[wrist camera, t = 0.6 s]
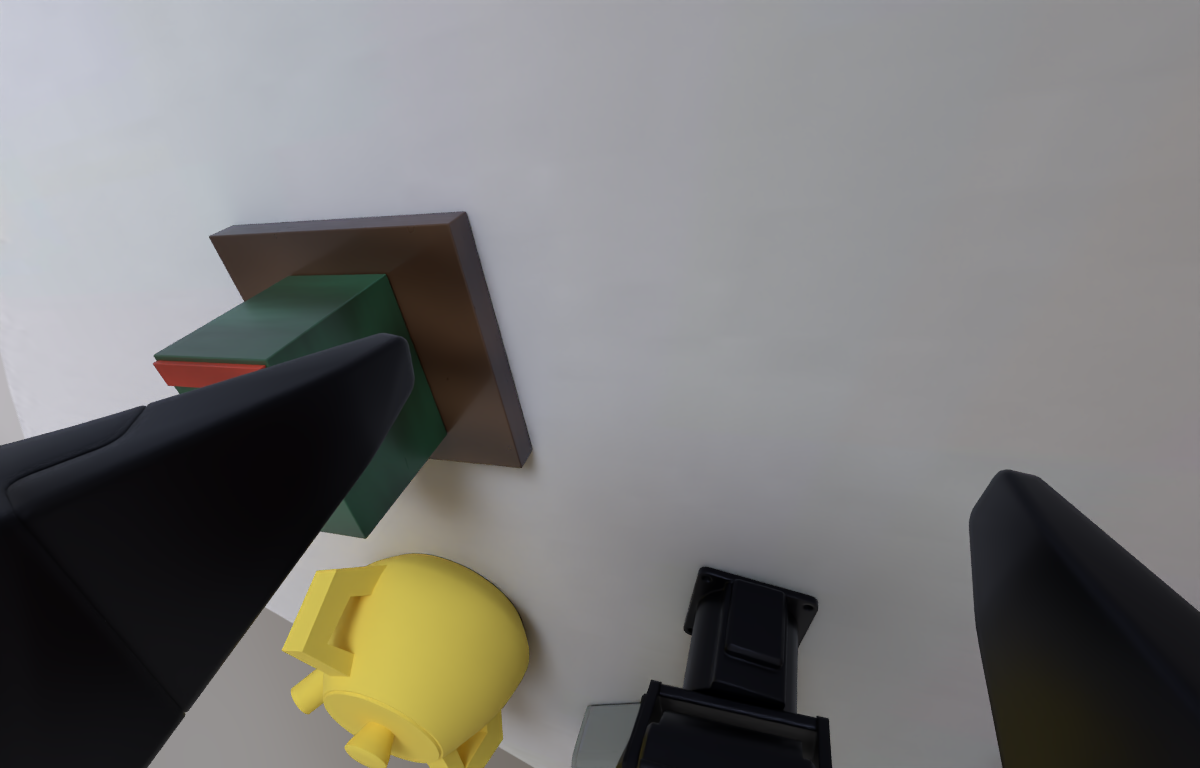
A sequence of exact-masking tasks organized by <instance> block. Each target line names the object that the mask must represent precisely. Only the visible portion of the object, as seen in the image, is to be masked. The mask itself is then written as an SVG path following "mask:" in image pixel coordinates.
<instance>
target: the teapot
mask: <svg viewBox="0 0 1200 768" xmlns="http://www.w3.org/2000/svg"><path fill="white" fill-rule="evenodd" d="M282 651H283V652H285V653H287V654H289V655H291V656H293V657H295V658H297V659H299V660H301V661H303V662H304V663H306V664H308V665H310V666H312V667H314V668H316V670H314V671H313V672H312V673H310V674H309V675H308V676H307V677H305V678H304V679H303V680H302V681H300V682H299V683H298V684H297V685H295V686H294V687H293V688H292V689H291V695H292V698H293V700H294V702H295V704H296V705H297V706H298V708H299V709H300V710H301V711H302V712H304V713H305V714H310V713H311V712H312V711H314V710H315V709H316V708H317V707H319V706H320V705H321V704H323V703H324V706H325V708H326V710H327V712H328V713H329V714H330V715H331V716H332V718H333V719H334V720H335V721H336V722H337V723H339V724H340V725H341V726H342V727H343V728H345V729H346V730H347V731H348V732H350V733H351V734H353V735H354V737H353V738H352V739H351V740H350V741H349V742H348V743H347V744H346V746H345V750H346V752H347V753H348V754H349V755H350V757H352V758H353V759H354V760H356V761H357V762H359V763H361V764H363V765H365V766H367V767H369V768H386V767H387V765H388V762H389V758H390V755H393V756H395V757H398V758H401V759H405V760H409V761H412V762H419V763H427V764H428V765H429V767H430V768H484V767H485V765H486V764H487V762H488V761H489V759H490V758H491V756H492V755H493V753H494V752H495V750H496V749H497V747H498V746H499V744H500V743H501V741H502V740H503V731H502V716H501V709H502V708H503V707H504V706H505V704H506V703H507V702H508V700H509V699H510V698H511V696H512V695H513V693H514V692H515V690H516V688H517V687H518V685H519V684H520V682H521V680H522V679H523V676H524V674H525V672H526V670H527V667H528V664H529V646H528V642H527V637H526V634H525V630H524V627H523V625H522V622H521V619H520V617H519V614H518V612H517V611H516V609H515V607H514V606H513V605H512V603H511V602H510V601H509V600H508V598H507V597H506V596H505V595H504V594H503V593H502V592H501V591H500V590H499V589H497V588H496V587H495V586H494V585H493V584H491V583H490V582H489V581H487V580H486V579H485V578H483V577H482V576H480V575H479V574H477V573H475V572H473V571H472V570H470V569H468V568H466V567H464V566H462V565H460V564H457V563H455V562H452V561H450V560H447V559H444V558H440V557H436V556H432V555H426V554H414V553H413V554H404V555H399V556H394V557H390V558H386V559H383V560H380V561H377V562H374V563H372V564H369V565H368V566H366V567H355V568H343V569H331V570H319V571H316V574H315V576H314V578H313V580H312V583H311V585H310V587H309V590H308V592H307V594H306V596H305V599H304V601H303V603H302V606H301V608H300V610H299V612H298V615H297V617H296V619H295V621H294V624H293V626H292V628H291V631H290V633H289V635H288V637H287V640H286V642H285V644H284V647H283V649H282Z"/></svg>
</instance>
